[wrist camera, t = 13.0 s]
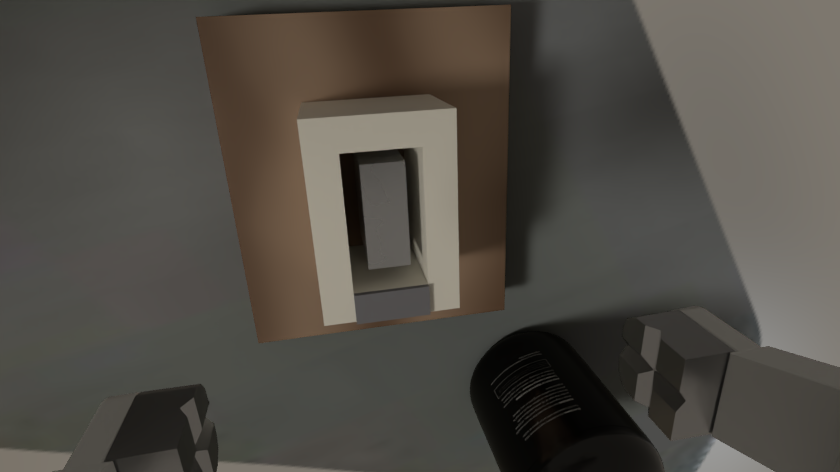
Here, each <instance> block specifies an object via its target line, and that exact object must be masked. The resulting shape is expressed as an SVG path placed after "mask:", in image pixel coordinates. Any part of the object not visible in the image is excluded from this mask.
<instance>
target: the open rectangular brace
mask: <svg viewBox="0 0 840 472" xmlns="http://www.w3.org/2000/svg"><path fill="white" fill-rule="evenodd" d="M297 125H298V132H299V140H300V147H301V155H302V162H303V170H304V177H305V185H306V192H307V200H308V207H309V215H310V222H311V230H312V237H313V245H314V252H315V260H316V267H317V275H318V282H319V290H320V297H321V305H322V312H323V320H324V326H329V325H336V324H343V323H351V322H357V324H364V323H372V322H379V321H387V320H394V319H401V318H409V317H416V316H424V315H431V314H430V312H433V311H440V310H448V309H455V308H460V294H459V232H458V170H457V108H455V107H453V106H452V105H450V104H448V103H446V102H444V101H442V100H440V99H438V98H436V97H434V96H432V95H430V94H422V95H407V96H392V97H377V98H362V99H347V100H332V101H317V102H302V103H301V106H300V109H299V113H298V117H297ZM403 148H404V160H405V167H406V185H407V203H408V221H409V239H410V257H411V265H405V266H396V267H388V268H379V269H371V270H369V269H368V264H367V259H366V255H365V250H364V245H360V246H351V247H349V245H348V235H347V226H346V216H345V207H344V197H343V188H342V178H341V169H340V159H339V154H343V153H355V152H367V151H379V150H391V149H403Z"/></svg>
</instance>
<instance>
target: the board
mask: <svg viewBox="0 0 840 472" xmlns="http://www.w3.org/2000/svg"><path fill="white" fill-rule="evenodd" d="M196 20H197V26H198V31H199V36H200V41H201V46H202V52H203V57H204V62H205V67H206V72H207V78H208V83H209V88H210V93H211V98H212V103H213V109H214V114H215V119H216V124H217V129H218V135H219V140H220V145H221V150H222V155H223V161H224V166H225V171H226V176H227V181H228V186H229V192H230V197H231V202H232V207H233V212H234V218H235V223H236V228H237V233H238V238H239V244H240V249H241V254H242V259H243V264H244V269H245V275H246V280H247V285H248V290H249V295H250V301H251V306H252V311H253V316H254V321H255V327H256V332H257V337H258V342H259V343H264V342H271V341H279V340H286V339H293V338H301V337H308V336H315V335H322V334H330V333H337V332H344V331H352V330H359V329H366V328H374V327H381V326H388V325H396V324H403V323H410V322H418V321H425V320H432V319H439V318H447V317H454V316H461V315H469V314H476V313H483V312H491V311H498V310H504V299H505V253H506V208H507V163H508V117H509V72H510V27H511V5H489V6H464V7H439V8H413V9H388V10H362V11H337V12H311V13H286V14H261V15H235V16H210V17H196ZM422 94H430V95H432V96H434V97H436V98H438V99H440V100H442V101H444V102H446V103H448V104H450V105H452V106H453V107H455V108H457V170H458V232H459V294H460V308H455V309H448V310H440V311H433V312H430V314H431V315H424V316H416V317H409V318H401V319H394V320H387V321H379V322H372V323H364V324H357V322H351V323H343V324H336V325H329V326H324V320H323V312H322V305H321V297H320V290H319V282H318V275H317V267H316V260H315V252H314V245H313V237H312V230H311V222H310V215H309V207H308V200H307V192H306V185H305V177H304V170H303V162H302V155H301V147H300V140H299V132H298V125H297V117H298V113H299V109H300V106H301V103H302V102H317V101H332V100H347V99H362V98H377V97H392V96H407V95H422ZM397 150H398V151H399V153H400V154H401V156H402V157H403V159H404V148H403V149H397ZM339 159H340V169H341V178H342V188H343V197H344V207H345V216H346V226H347V235H348V245H349V247H351V246H360V245H363V241H362V236H361V230H360V220H359V209H358V199H357V188H356V177H355V167H354V156H353V153H343V154H339Z"/></svg>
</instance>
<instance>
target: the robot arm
mask: <svg viewBox="0 0 840 472" xmlns="http://www.w3.org/2000/svg"><path fill="white" fill-rule="evenodd" d="M622 337H623V338H624V340H625V341H626V343H627V346H626V347H625V348H624V350H623V351H622V352H621V354H620V356H619V368H618V369H619V373H620V378H621V382H622V384H623V386H624V388H625V390H626V391H627V393H628V394H629V395H630V396H631V397H632V399H633V400H634V401H636V402H638V403H640V404H643V405H645V406H647V407H648V417H649V418H650V419H651V420H652V421H653V422H654V423H655V424H656V426H657V427H658V428H659V429H660V430H661V431H662V432H663V433H664V434H665V435H666V437H667V438H668V439H669V440H670V441H673V440H679V439H685V438H691V437H697V436H702V435H708V434H712V437H714V438H716V439H718V440H720V441H721V442H723V443H725V444H727V445H729V446H730V447H732V448H734V449H736V450H737V451H739V452H741V453H743V454H745V455H746V456H748V457H750V458H752V459H754V460H755V461H757V462H759V463H761V464H762V465H764V466H766V467H768V468H770V469H771V470H773V471H775V472H840V367H836V366H833V365H830V364H826V363H823V362H820V361H816V360H813V359H810V358H806V357H803V356H800V355H796V354H793V353H789V352H786V351H783V350H779V349H776V348H773V347H769V346H767V347H760V346H759V345H757V344H756V343H754V342H753V341H752V340H750V339H749V338H747V337H746V336H744V335H743V334H741V333H740V332H738V331H737V330H735V329H734V328H732V327H731V326H729V325H728V324H727V323H725V322H724V321H722V320H721V319H719V318H718V317H716V316H715V315H713V314H712V313H710V312H709V311H707V310H706V309H705V308H703V307H698V306H691V307H685V308H680V309H675V310H672V311H667V312H661V313H655V314H649V315H643V316H637V317H631V318H627V320H626V322H625V324H624V325H623V332H622ZM208 405H209V401H208V397H207V394H206V390H205V388H204V387H203V386H202V385H201V384H196V385H188V386H181V387H174V388H166V389H159V390H151V391H144V392H140V393H137V392H136V393H130V394H124V395H117V396H111V397H108V398H107V399H105V400H103V401H102V403H101V405H100V406H99V408H98V410H97V411H96V413H95V415H94V417H93V418H92V420H91V422H90V424H89V425H88V427H87V429H86V431H85V432H84V434H83V436H82V438H81V439H80V441H79V443H78V445H77V446H76V448H75V450H74V452H73V453H72V455H71V457H70V459H69V460H68V462H67V464H66V465H65V467H64V469H63V470H59V471H53V472H216V471H217V466H218V441H217V433H216V429H215V425H214V423H213V422H212V421H210V420H209V419H208V418H206V413H207V409H208Z"/></svg>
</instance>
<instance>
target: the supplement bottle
mask: <svg viewBox="0 0 840 472" xmlns="http://www.w3.org/2000/svg"><path fill="white" fill-rule="evenodd" d="M470 397H471V402H472V405H473V408H474V410H475V413H476V415H477V418H478V420H479V423H480V425H481V427H482V429H483V432H484V434H485V436H486V439H487V441H488V443H489V446H490V448H491V450H492V453H493V455H494V457H495V460H496V462H497V464H498V467H499V469H500V471H501V472H665V470H664V465H663V462H662V459H661V457H660V455H659V453H658V451H657V449H656V448H655V447H654V445H653V444H652V443H651V441H650V440H649V439H648V437H647V436H646V435H645V434H644V432H643V431H642V430H641V429H640V428H639V426H638V425H637V424H636V423H635V422H634V420H633V419H632V418H631V417H630V415H629V414H628V413H627V412H626V411H625V409H624V408H623V407H622V406H621V405H620V403H619V402H618V401H617V400H616V399H615V397H614V396H613V395H612V394H611V393H610V391H609V390H608V389H607V388H606V387H605V385H604V384H603V383H602V382H601V380H600V379H599V378H598V377H597V376H596V374H595V373H594V372H593V371H592V370H591V368H590V367H589V366H588V365H587V364H586V362H585V361H584V360H583V359H582V358H581V356H580V355H579V354H578V353H577V352H576V351H575V350H574V348H573V347H572V346H571V345H570V344H569V343H568V342H566V341H565V340H564V339H562V338H560V337H558V336H556V335H554V334H551V333H547V332H540V331H531V332H523V333H519V334H515V335H512V336H510V337H508V338H506V339H504V340H502V341H500V342H499V343H497V344H496V345H494V346H493V347H492V348H491V349H490V350H488V351H487V352H486V353H485V355H484V356H483V357H482V358H481V360H480V361H479V363H478V364H477V366H476V368H475V370H474V372H473V375H472V378H471V383H470Z"/></svg>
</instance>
